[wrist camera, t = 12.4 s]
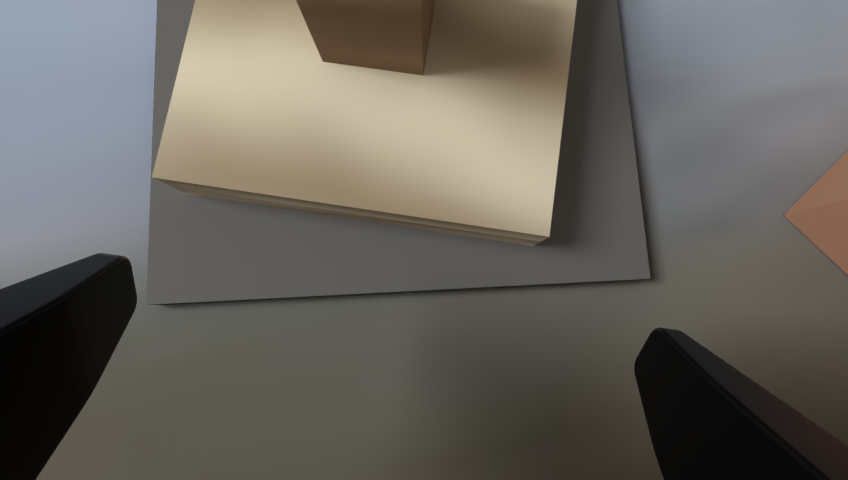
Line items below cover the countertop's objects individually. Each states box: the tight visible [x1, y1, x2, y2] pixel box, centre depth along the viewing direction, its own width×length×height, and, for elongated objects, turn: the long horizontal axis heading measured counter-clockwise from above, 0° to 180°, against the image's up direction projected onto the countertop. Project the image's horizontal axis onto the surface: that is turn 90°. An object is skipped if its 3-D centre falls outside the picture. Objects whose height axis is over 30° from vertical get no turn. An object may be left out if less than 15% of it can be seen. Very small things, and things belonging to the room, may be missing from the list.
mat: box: [147, 0, 651, 305], centre depth 16 cm, size 16×16×1 cm
